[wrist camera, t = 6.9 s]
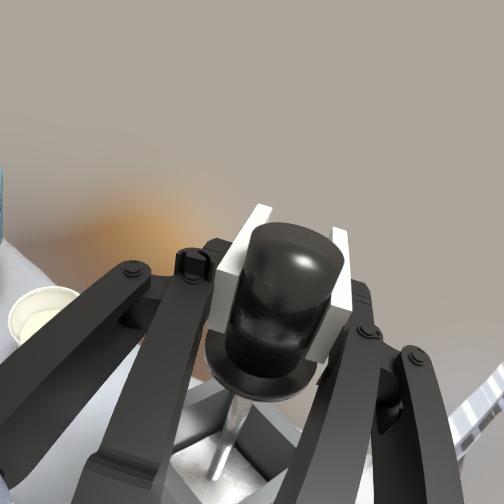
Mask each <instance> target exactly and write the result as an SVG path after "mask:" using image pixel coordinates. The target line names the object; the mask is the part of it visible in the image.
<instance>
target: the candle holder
mask: <svg viewBox="0 0 504 504" xmlns="http://www.w3.org/2000/svg"><path fill="white" fill-rule="evenodd" d="M79 295H80V294H78V293H77V292H75V291H74V290H71V289H68V288H65V287H59V286H47V287H41V288H37V289H34V290H32V291H30V292H28V293H26V294H24V295H23V296H21V297H20V298H19V299H18V300H17V301H16V302H15V303H14V305H13V306H12V308H11V310H10V312H9V315H8V330H9V333H10V335H11V337H12V338H13V340H14V342H15V344H16V346H17V348H19V347H20V346H21V345H22V344H23V343H24V342H25V341H26V340H28V339H29V338H30V337H31V336H32V335H33V334H34V333H35V332H37V331H38V330H39V329H40V328H41V327H42V326H43V325H45V324H46V323H47V322H48V321H49V320H50V319H52V318H53V317H54V316H55V315H56V314H57V313H59V312H60V311H61V310H62V309H63V308H65V307H66V306H67V305H68V304H69V303H71V302H72V301H73V300H74V299H75V298H77V297H78V296H79Z"/></svg>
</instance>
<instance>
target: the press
mask: <svg viewBox="0 0 504 504" xmlns="http://www.w3.org/2000/svg"><path fill="white" fill-rule="evenodd" d="M234 395H235V394H233V393H232V392H230V391H228V390H227V389H225V388H224V387H223V386H222V385H221V384H219V383H218V382H217V380H216V379H215V378H213V379H211V380H209V381H207V382H205V383H202V384H200V385H198V386H196V387H194V388H192V389H189V390H187V393H186V397H185V401H184V405H183V409H182V413H181V417H180V421H179V425H178V429H177V433H176V437H175V441H174V445H173V450H172V454H171V455H173V454H175V453H177V452H179V451H181V450H183V449H185V448H187V447H189V446H191V445H193V444H195V443H197V442H199V441H201V440H203V439H205V438H207V437H209V436H210V435H212V434H214V433H216V432H218V431H221V432H222V430H223V427H224V424H225V422H226V419H227V416H228V413H229V410H230V407H231V404H232V401H233V398H234ZM301 434H302V433H301V432H300V431H299V430H298V429H297V428H296V427H295V426H294V425H293V424H292V423H291V422H289V421H288V420H287V419H286V418H285V417H284V416H283V415H282V414H281V413H280V412H279V411H278V410H277V409H276V408H275V407H274V406H273V405H272V404H271V403H270V402H256V401H253V404H252V406H251V408H250V410H249V413H248V415H247V417H246V419H245V422H244V424H243V426H242V428H241V431H240V433H239V435H238V437H237V439H236V441H235V444H234V447H235V448H236V449H237V450H238V451H239V453H240V454H241V455H242V456H243V457H244V458H245V459H246V460H247V461H248V462H249V463H250V465H251V466H252V467H253V468H254V469H255V470H256V471H257V472H258V473H259V474H260V475H261V476H262V477H263V478H264V479H265V480H266V481H267V482H268V483H267V484H265V485H264V486H263V487H261V488H260V489H258V490H257V491H255V492H254V493H252V494H251V495H249V496H248V497H246V498H245V499H243V500H242V501H240V502H239V503H237V504H273V502H274V500H275V498H276V496H277V493H278V491H279V489H280V486H281V484H282V482H283V479H284V477H285V475H286V472H287V470H288V467H289V465H290V463H291V460H292V458H293V455H294V453H295V450H296V447H297V445H298V442H299V440H300V437H301ZM160 504H202V503H201V501H200V500H199V499H198V498H197V497H196V495H195V494H194V493H193V492H192V490H191V489H190V488H189V487H188V485H187V484H186V483H185V482H184V480H183V479H182V478H181V476H180V475H179V474H178V473H177V471H176V470H175V469H174V467H173V466H172V465H171V463H170V462H169V466H168V470H167V475H166V479H165V483H164V487H163V492H162V497H161V503H160Z"/></svg>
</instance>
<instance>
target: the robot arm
mask: <svg viewBox="0 0 504 504" xmlns="http://www.w3.org/2000/svg"><path fill="white" fill-rule="evenodd" d="M2 186H3V172H2V169H1V168H0V245H1V243H2V239H3V217H2V216H3V214H2ZM272 209H273V208H271V207H268V206H265V205H261V204H258V205H257V206H256V208H255V210H254V211H253V213H252V215H251V216H250V217H249V219H248V221H247V222H246V223H245V225H244V227H243V228H242V230H241V231H240V233H239V234H238V236H237V238H236V239H235V241H234V242H233V243H232V242H228V241H225V240H222V239H219V238H215V239H212V240H210V241H208V242H207V243H206V245H205V246H204V247H203V248H202V249H199V248H185V249H182V250H180V251H179V252H177V253H176V261H175V270H174V275H173V276H169V277H168V276H157V275H151V269H150V267H149V266H148V265H147V264H145V263H143V262H140V261H136V260H129V261H124V262H122V263H120V264H118V265H117V266H115V267H114V268H113V269H111V270H110V271H109V272H108V273H107V274H105V275H104V276H103V277H101V278H100V279H99V280H98V281H96V282H95V283H94V284H93V285H91V286H90V287H89V288H88V289H86V290H85V291H84V292H83V293H82V294H80V295H79V296H78V297H77V298H75V299H74V300H73V301H72V302H71V303H69V304H68V305H67V306H66V307H65V308H63V309H62V310H61V311H60V312H59V313H57V314H56V315H55V316H54V317H53V318H52V319H50V320H49V321H48V322H47V323H46V324H45V325H43V326H42V327H41V328H40V329H39V330H38V331H37V332H35V333H34V334H33V335H32V336H31V337H30V338H29V339H28V340H26V341H25V342H24V343H23V344H22V345H21V346H20V347H19V348H18V349H16V350H15V351H14V352H13V353H12V354H11V355H10V356H9V357H8V358H7V359H6V360H5V361H4V362H2V363H1V364H0V504H11V497H10V492H9V490H10V489H12V488H14V487H15V486H16V485H18V484H19V483H20V482H21V481H22V480H24V479H25V478H26V477H27V476H28V475H29V473H30V472H31V471H32V470H33V469H34V468H35V467H36V466H37V464H38V463H39V462H40V460H41V459H42V458H43V457H44V455H45V454H46V453H47V452H48V450H49V449H50V448H51V447H52V445H53V444H54V443H55V442H56V441H57V439H58V438H59V437H60V436H61V434H62V433H63V432H64V431H65V429H66V428H67V427H68V426H69V425H70V423H71V422H72V421H73V420H74V418H75V417H76V416H77V415H78V414H79V412H80V411H81V410H82V409H83V408H84V406H85V405H86V404H87V403H88V402H89V400H90V399H91V398H92V397H93V395H94V394H95V393H96V392H97V391H98V390H99V388H100V387H101V386H102V385H103V384H104V382H105V381H106V380H107V379H108V378H109V376H110V375H111V374H112V373H113V372H114V371H115V369H116V368H117V367H118V366H119V365H120V363H121V362H122V361H123V360H124V359H125V358H126V356H127V355H128V354H129V353H130V352H131V351H132V349H133V348H134V347H135V346H136V345H137V344H138V342H139V341H140V340H141V339H142V338H143V337H144V335H145V334H146V336H145V338H144V340H143V342H142V344H141V347H140V349H139V351H138V354H137V356H136V358H135V361H134V363H133V365H132V368H131V370H130V372H129V375H128V377H127V379H126V382H125V384H124V387H123V389H122V392H121V394H120V396H119V399H118V401H117V404H116V406H115V409H114V411H113V414H112V417H111V419H110V422H109V424H108V427H107V429H106V432H105V435H104V437H103V440H102V443H101V445H100V447H99V449H98V451H97V452H96V453H94V454H92V455H90V457H89V458H88V459H87V461H86V464H85V466H84V468H83V471H82V473H81V476H80V479H79V482H78V485H77V488H76V490H75V493H74V496H73V499H72V502H71V504H160V503H161V497H162V492H163V487H164V483H165V479H166V475H167V470H168V466H169V462H170V458H171V454H172V450H173V445H174V441H175V437H176V433H177V429H178V425H179V421H180V417H181V413H182V409H183V405H184V401H185V397H186V393H187V390H188V386H189V382H190V378H191V374H192V370H193V366H194V363H195V359H196V355H197V351H198V348H199V344H200V340H201V336H202V331H203V326H204V324H205V322H206V320H207V324H206V327H207V328H209V329H212V330H215V331H218V332H220V333H223V334H225V332H226V330H227V328H228V325H229V323H230V319H231V315H232V311H233V307H234V303H235V299H236V295H237V291H238V287H239V283H240V279H241V275H242V270H243V266H244V261H245V257H246V253H247V249H248V245H249V241H250V237H251V233H252V231H253V230H254V229H255V228H256V227H257V226H259V225H262V224H265V223H269V220H270V216H271V213H272ZM328 239H329V240H331V241H332V242H333V243H334V244H335V245H336V246H337V247H338V248H339V249H340V250H341V252H342V253H343V256H344V259H345V263H344V266H343V268H342V271H341V273H340V275H339V278H338V280H337V282H336V284H335V287H334V289H333V291H332V293H331V296H330V298H329V300H328V302H327V305H326V307H325V309H324V311H323V313H322V315H321V318H320V320H319V322H318V324H317V326H316V328H315V330H314V332H313V335H312V337H311V339H310V341H309V343H308V345H307V347H306V354H305V359H307V360H310V361H314V362H318V363H321V364H324V362H325V361H326V359H327V357H328V355H329V360H328V365H327V367H326V368H325V370H324V372H323V373H322V375H321V377H320V378H319V380H318V382H317V383H316V385H319V386H318V389H317V392H316V395H315V398H314V401H313V404H312V407H311V410H310V413H309V415H308V418H307V421H306V424H305V426H304V429H303V432H302V434H301V437H300V440H299V442H298V445H297V447H296V450H295V453H294V455H293V458H292V460H291V463H290V465H289V467H288V470H287V472H286V475H285V477H284V479H283V482H282V484H281V486H280V489H279V491H278V493H277V496H276V498H275V500H274V502H273V504H355V500H356V496H357V493H358V489H359V485H360V481H361V477H362V472H363V468H364V463H365V459H366V454H367V449H368V444H369V439H370V434H371V445H372V462H373V484H374V504H464V499H463V492H462V486H461V480H460V474H459V469H458V463H457V458H456V453H455V448H454V444H453V439H452V435H451V431H450V426H449V422H448V418H447V414H446V410H445V407H444V403H443V399H442V396H441V392H440V389H439V385H438V382H437V378H436V375H435V372H434V369H433V365H432V362H431V360H430V358H429V356H428V355H427V354H426V353H425V352H424V351H423V350H422V349H420V348H419V347H416V346H413V345H407V346H405V347H403V349H402V350H401V352H400V351H398V350H396V349H394V348H392V347H390V346H389V345H387V344H386V343H384V342H383V335H382V333H381V331H380V329H379V328H378V327H377V326H375V325H374V318H373V310H372V302H371V295H370V291H369V289H368V287H367V286H366V285H365V283H362V282H359V281H356V280H352V279H351V278H350V263H349V251H348V240H347V231H344V230H341V229H338V228H335V227H333V228H332V230H331V233H330V236H329V238H328Z"/></svg>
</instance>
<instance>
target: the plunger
mask: <svg viewBox="0 0 504 504" xmlns="http://www.w3.org/2000/svg"><path fill="white" fill-rule="evenodd" d="M344 263H345V259H344V256H343V253H342V252H341V250H340V249H339V248H338V247H337V246H336V245H335V244H334V243H333V242H332V241H331V240H329V239H328V238H326V237H324V236H323V235H321V234H319V233H317V232H315V231H313V230H310V229H308V228H305V227H301V226H298V225H294V224H289V223H279V222H274V223H265V224H262V225H259V226H257V227H256V228H255V229H254V230H253V231H252V233H251V237H250V241H249V245H248V249H247V253H246V257H245V261H244V266H243V270H242V275H241V279H240V283H239V287H238V291H237V295H236V299H235V303H234V307H233V311H232V315H231V319H230V323H229V325H228V328H227V330H226V332H225V334H223V333H220V332H218V331H215V330H212V329H209V330H208V332H207V335H206V340H205V345H204V358H205V362H206V365H207V367H208V369H209V371H210V373H211V374H212V376H213V377H214V378H215V379H216V380H217V382H218V383H219V384H221V385H222V386H223V387H224V388H225V389H227V390H228V391H230V392H232V393H233V394H235V395H234V398H233V401H232V404H231V407H230V410H229V413H228V416H227V419H226V422H225V424H224V427H223V430H222V432H221V431H218V432H216V433H214V434H212V435H210V436H209V437H207V438H205V439H203V440H201V441H199V442H197V443H195V444H193V445H191V446H189V447H187V448H185V449H183V450H181V451H179V452H177V453H175V454H173V455H171V458H170V463H171V465H172V466H173V467H174V469H175V470H176V471H177V473H178V474H179V475H180V476H181V478H182V479H183V480H184V482H185V483H186V484H187V485H188V487H189V488H190V489H191V490H192V492H193V493H194V494H195V495H196V497H197V498H198V499H199V500H200V501H201V503H202V504H237V503H239V502H240V501H242V500H243V499H245V498H246V497H248V496H249V495H251V494H252V493H254V492H255V491H257V490H258V489H260V488H261V487H263V486H264V485H265V484H267V483H268V482H267V481H266V480H265V479H264V478H263V477H262V476H261V475H260V474H259V473H258V472H257V471H256V470H255V469H254V468H253V467H252V466H251V465H250V463H249V462H248V461H247V460H246V459H245V458H244V457H243V456H242V455H241V454H240V453H239V451H238V450H237V449H236V448H235V447H234V444H235V441H236V439H237V437H238V435H239V433H240V431H241V428H242V426H243V424H244V422H245V419H246V417H247V415H248V413H249V410H250V408H251V406H252V404H253V401H256V402H279V401H284V400H288V399H290V398H292V397H294V396H296V395H298V394H299V393H301V392H302V391H303V390H304V389H305V388H306V387H307V386H308V384H309V382H310V381H311V379H312V377H313V375H314V374H315V371H316V368H317V362H314V361H310V360H307V359H305V354H306V347H307V345H308V343H309V341H310V339H311V337H312V335H313V332H314V330H315V328H316V326H317V324H318V322H319V320H320V318H321V315H322V313H323V311H324V309H325V307H326V305H327V302H328V300H329V298H330V296H331V293H332V291H333V289H334V287H335V284H336V282H337V280H338V278H339V275H340V273H341V271H342V268H343V266H344Z"/></svg>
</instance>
